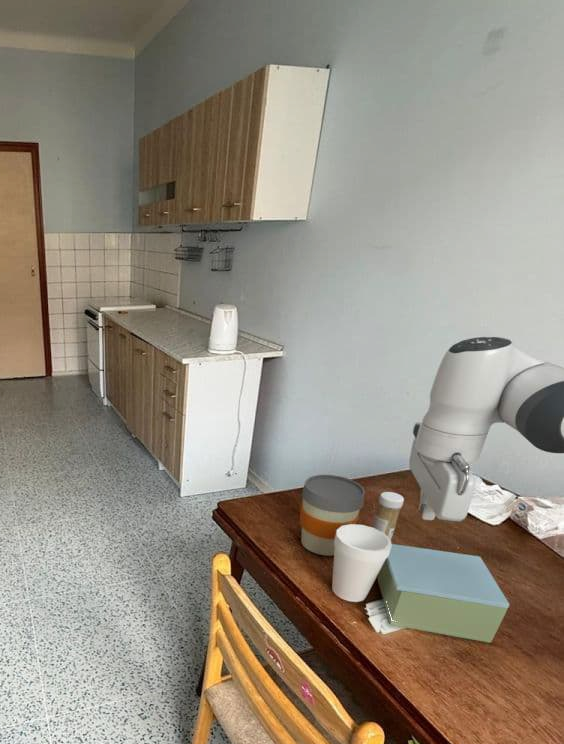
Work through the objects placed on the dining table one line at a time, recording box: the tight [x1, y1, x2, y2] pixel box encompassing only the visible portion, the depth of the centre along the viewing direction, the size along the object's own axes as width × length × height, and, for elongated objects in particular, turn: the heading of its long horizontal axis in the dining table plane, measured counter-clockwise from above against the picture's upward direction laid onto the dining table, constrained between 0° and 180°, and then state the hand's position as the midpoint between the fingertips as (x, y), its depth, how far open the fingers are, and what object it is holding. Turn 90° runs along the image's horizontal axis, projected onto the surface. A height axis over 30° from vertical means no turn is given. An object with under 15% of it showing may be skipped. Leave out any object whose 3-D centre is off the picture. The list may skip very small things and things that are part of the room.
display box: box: [376, 559, 509, 644], centre depth 88 cm, size 16×14×8 cm
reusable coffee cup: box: [299, 474, 366, 557], centre depth 106 cm, size 13×13×15 cm
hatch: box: [386, 543, 510, 608], centre depth 86 cm, size 17×14×1 cm
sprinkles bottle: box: [371, 491, 405, 540], centre depth 104 cm, size 5×5×13 cm
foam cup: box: [331, 523, 393, 603], centre depth 92 cm, size 10×9×13 cm
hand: (425, 515), depth 82 cm, fingers closed
